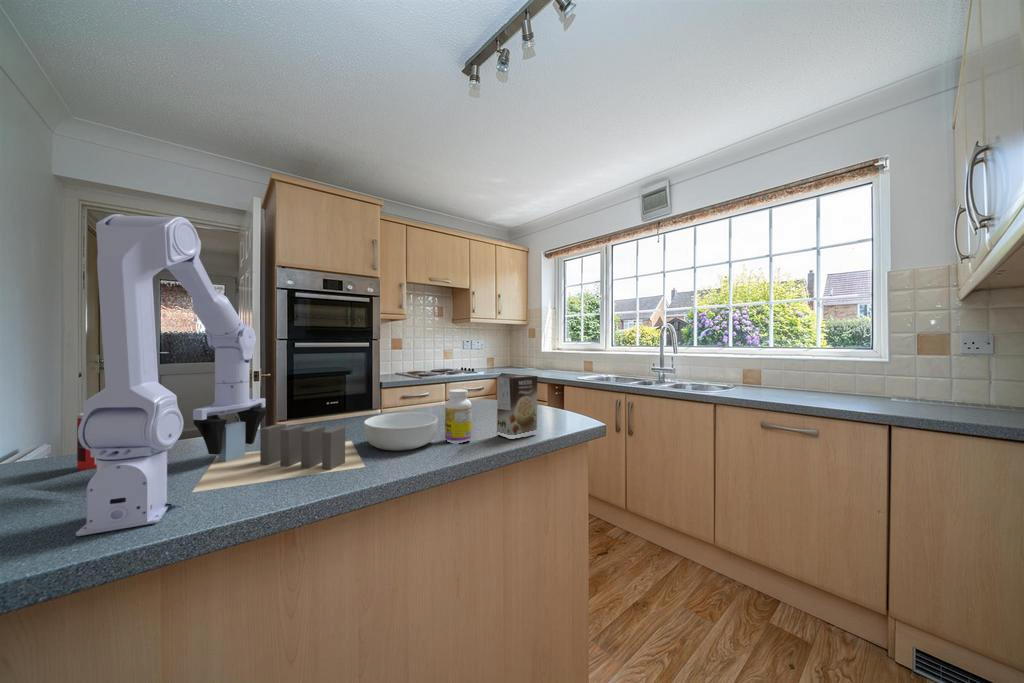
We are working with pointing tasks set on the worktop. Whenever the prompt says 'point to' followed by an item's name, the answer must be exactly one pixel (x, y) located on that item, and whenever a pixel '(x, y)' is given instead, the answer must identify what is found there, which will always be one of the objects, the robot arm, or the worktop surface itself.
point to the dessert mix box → (517, 404)
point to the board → (265, 470)
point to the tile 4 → (311, 446)
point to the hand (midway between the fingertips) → (232, 448)
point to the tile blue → (233, 442)
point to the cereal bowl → (401, 430)
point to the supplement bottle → (458, 416)
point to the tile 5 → (333, 448)
